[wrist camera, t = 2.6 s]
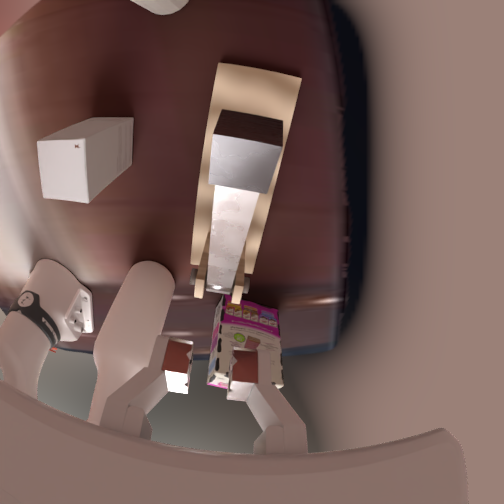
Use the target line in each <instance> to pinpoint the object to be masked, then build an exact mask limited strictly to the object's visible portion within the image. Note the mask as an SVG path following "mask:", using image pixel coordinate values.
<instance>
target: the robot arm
mask: <svg viewBox="0 0 504 504" xmlns="http://www.w3.org/2000/svg"><path fill="white" fill-rule="evenodd" d="M28 278H29V279H28V281H27V282H26V284H25V286H24V287H23V289H22V291H21V293H20V295H19V297H18V298H16V300H15V301H14V303H13V304H12V305H11V307H10V309H9V311H8V316H7V317H6V319H5V321H4V322H3V324H2V325H1V327H0V367H1V369H2V372H3V376H4V381H3V380H1V379H0V504H468V482H467V472H466V465H465V459H464V453H463V449H462V446H461V444H460V442H459V441H458V440H457V439H456V438H455V437H454V436H453V435H452V434H451V433H450V432H449V431H447V430H446V429H444V428H438V429H435V430H431V431H428V432H425V433H422V434H418V435H415V436H411V437H407V438H403V439H399V440H395V441H391V442H386V443H382V444H377V445H371V446H366V447H360V448H354V449H347V450H339V451H330V452H320V453H308V448H307V436H306V425H305V424H304V423H303V421H302V420H301V419H300V417H299V416H298V415H297V413H296V412H295V411H294V410H293V408H292V407H291V406H290V404H289V403H288V402H287V400H286V399H285V398H284V396H283V395H282V394H281V392H280V391H279V390H278V388H277V387H276V386H275V385H272V380H271V357H270V351H269V350H257V349H249V348H239V347H233V350H232V357H231V359H230V364H229V373H228V377H229V382H228V388H227V399H230V400H238V401H247V402H246V403H247V404H248V406H249V408H250V409H251V411H252V413H253V414H254V416H255V418H256V420H257V421H258V423H259V425H260V426H261V428H262V430H263V433H262V434H261V435H260V436H259V437H258V439H257V440H256V441H255V442H254V454H242V453H228V452H217V451H208V450H200V449H193V448H187V447H180V446H175V445H170V444H165V443H160V442H155V441H151V434H152V427H151V425H150V423H149V421H148V419H147V417H146V414H147V413H148V412H149V411H150V410H151V409H152V408H153V407H154V406H155V405H156V404H157V403H158V402H159V401H160V400H161V398H163V397H164V395H165V394H166V393H167V392H168V391H174V392H180V393H188V387H189V380H190V372H191V368H192V361H193V341H188V340H183V339H178V338H172V337H168V336H163V335H158V336H157V337H156V340H155V344H154V347H153V351H152V354H151V358H150V362H149V365H148V367H144V368H143V369H141V370H140V371H139V372H138V373H137V374H135V375H134V376H133V377H132V378H130V379H129V380H128V381H127V382H126V383H124V384H123V385H122V386H121V387H120V388H118V389H117V390H116V391H115V392H113V393H112V394H111V395H110V396H109V397H107V400H106V403H105V406H104V410H103V413H102V417H101V420H100V424H99V426H98V425H95V424H93V423H90V422H87V421H84V420H81V419H79V418H77V417H74V416H72V415H69V414H67V413H64V412H62V411H60V410H58V409H55V408H53V407H51V406H49V405H47V404H45V403H43V402H41V401H38V398H37V383H38V377H39V374H40V371H41V368H42V365H43V363H44V360H45V358H46V355H47V353H48V351H49V350H50V351H53V350H51V349H55V350H57V348H55V347H54V346H55V345H56V344H57V343H58V342H59V341H76V340H77V339H78V338H79V337H80V335H81V333H82V332H83V333H91V332H93V330H94V321H93V307H92V293H91V292H90V291H89V290H88V289H87V288H86V287H85V286H83V285H82V284H81V283H79V281H78V280H77V279H76V278H75V277H74V275H73V274H72V273H71V272H70V271H69V270H67V269H66V268H65V267H64V266H62V265H61V264H59V263H57V262H55V261H53V260H50V259H41V260H39V261H38V262H37V263H36V265H35V267H34V269H33V271H32V272H31V273H30V274H29V276H28ZM53 352H55V351H53Z"/></svg>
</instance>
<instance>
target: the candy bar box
mask: <svg viewBox="0 0 504 504" xmlns="http://www.w3.org/2000/svg"><path fill="white" fill-rule="evenodd" d="M231 301H232V296H231V295H228V294H223V296H222V298H221V300H220V302H219V304H218V305H217V307H216V310H215V317H214V325H213V334H212V342H211V351H210V359H209V368H208V378H207V384H208V385H212V386H217V387H221V388H226V389H227V388H228V382H229V377H228V373H229V364H230V359H231V357H232V350H233V347H239V348H249V349H257V350H269V351H270V357H271V380H272V385H275V386H276V387H277V388H278V390H279V389H280V388H281V387H282V386H284V381H283V367H282V353H281V340H280V328H279V314H278V310H277V309H274V308H271V307H267V306H264V305H260V304H257V303H254V302H250V301H247V300H244V299H241V300H240V304H234V303H231Z"/></svg>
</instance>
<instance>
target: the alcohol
mask: <svg viewBox="0 0 504 504" xmlns="http://www.w3.org/2000/svg"><path fill="white" fill-rule="evenodd" d="M174 289H175V282H174V279H173V277H172V275H171V273H170V272H169V270H168V269H167V268H166V267H164V266H163V265H161V264H159V263H157V262H154V261H142V262H139V263H136V264H135V265H133V266H132V267H131V269H130V271H129V273H128V274H127V276H126V278H125V280H124V282H123V284H122V286H121V288H120V290H119V292H118V294H117V296H116V298H115V300H114V302H113V304H112V306H111V308H110V310H109V313H108V315H107V317H106V319H105V321H104V323H103V326H102V328H101V330H100V332H99V334H98V337H97V339H96V341H95V345H94V352H93V356H94V361H95V364H96V367H97V369H98V378H97V382H96V386H95V390H94V395H93V399H92V404H91V408H90V413H89V418H88V419H87V420H86V421H87V422H90V423H93V424H95V425H98V426H99V424H100V420H101V417H102V413H103V410H104V406H105V403H106V400H107V397H109V396H110V395H111V394H112V393H113V392H115V391H116V390H117V389H118V388H120V387H121V386H122V385H123V384H124V383H126V382H127V381H128V380H129V379H130V378H132V377H133V376H134V375H135V374H137V373H138V372H139V371H140V370H141V369H143V368H144V367H148V365H149V362H150V358H151V354H152V351H153V347H154V344H155V340H156V337H157V336H158V335H161V332H162V328H163V325H164V321H165V318H166V315H167V311H168V308H169V305H170V302H171V298H172V295H173V292H174Z"/></svg>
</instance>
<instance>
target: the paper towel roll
mask: <svg viewBox="0 0 504 504" xmlns="http://www.w3.org/2000/svg"><path fill="white" fill-rule="evenodd" d="M131 1H133V2H135V3H136V4H138V5H140V6H142V7H144V8H145V9H147V10H149V11H151V12H153V13H154V14H159V15H166V14H172V13H174V12H176V11H178V10H180V9H181V8H183V7H184V6H185V5H186V4H187V2H188V1H189V0H131Z"/></svg>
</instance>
